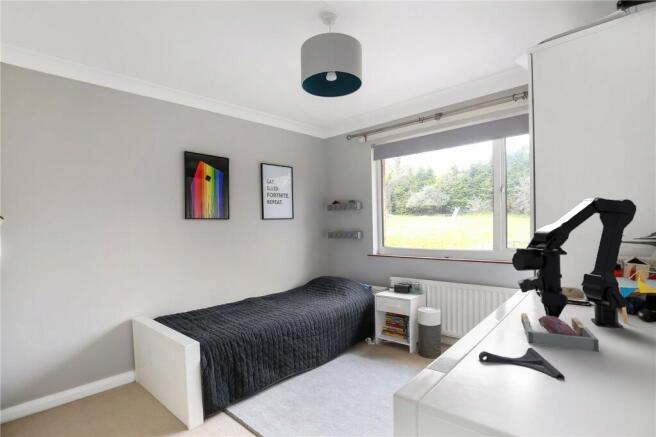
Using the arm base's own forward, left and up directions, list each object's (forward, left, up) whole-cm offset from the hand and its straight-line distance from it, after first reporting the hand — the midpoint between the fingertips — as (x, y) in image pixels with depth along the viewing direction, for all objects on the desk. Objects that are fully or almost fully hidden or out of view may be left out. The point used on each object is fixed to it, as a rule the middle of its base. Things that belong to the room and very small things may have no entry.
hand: (550, 320), depth 101 cm
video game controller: (+10, +1, -2) cm, 10 cm away
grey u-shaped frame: (+12, 0, -2) cm, 13 cm away
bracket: (+32, -12, -3) cm, 35 cm away
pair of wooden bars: (+1, 0, -2) cm, 3 cm away
